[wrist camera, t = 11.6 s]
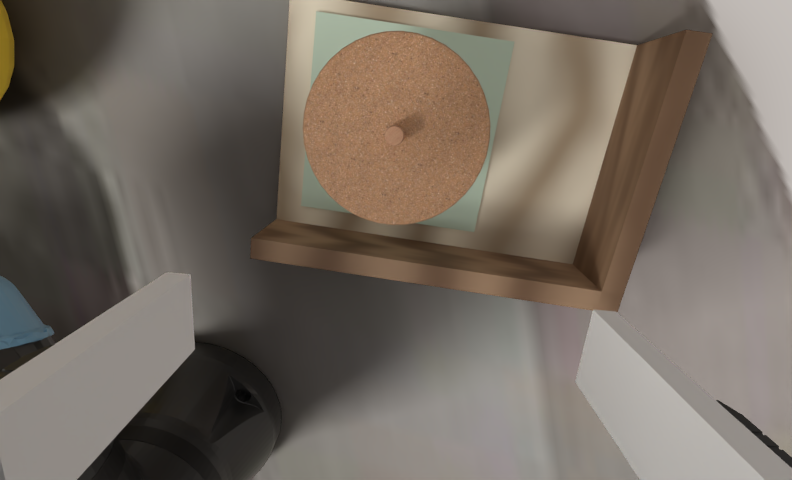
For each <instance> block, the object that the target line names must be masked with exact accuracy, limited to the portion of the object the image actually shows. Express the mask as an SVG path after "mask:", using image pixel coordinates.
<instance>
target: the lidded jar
mask: <svg viewBox="0 0 792 480" xmlns="http://www.w3.org/2000/svg"><path fill="white" fill-rule="evenodd" d="M303 138H304V146H305V150H306V154H307V158H308V161H309V163H310V166H311V168H312V171H313V173H314V175H315V176H316V178H317V180H318V181H319V183H320V185H321V186H322V187H323V188H324V190H325V191H326V192H327V193H328V195H329V196H330V197H331V198H332V199H334V200H335V201H336V202H337V203H338V204H339V205H340V206H342V207H343V208H345V209H346V210H348V211H349V212H351V213H352V214H355V215H357V216H359V217H361V218H363V219H366V220H369V221H372V222H376V223H381V224H388V225H406V224H412V223H418V222H421V221H424V220H427V219H431V218H433V217H435V216H437V215H439V214H441V213H443V212H444V211H446V210H447V209H449V208H450V207H452V206H453V205H454V204H456V203H457V202H458V201H459V200H460V199H461V198H462V197H463V196H464V195H465V194H466V193H467V191H468V190H469V189H470V187H471V186H472V185H473V184H474V182H475V180H476V179H477V177H478V175H479V173H480V171H481V169H482V167H483V164H484V161H485V159H486V156H487V151H488V146H489V141H490V116H489V108H488V105H487V101H486V97H485V94H484V92H483V89H482V87H481V85H480V83H479V81H478V79H477V77H476V76H475V74H474V73H473V71H472V70H471V68H470V67H469V66H468V65H467V63H466V62H465V61H464V60H463V59H462V58H461V57H460V56H459V55H458V54H457V53H455V52H454V51H453V50H452V49H450V48H449V47H448V46H446V45H445V44H443V43H441V42H439V41H437V40H435V39H433V38H431V37H428V36H425V35H422V34H419V33H414V32H406V31H385V32H380V33H375V34H370V35H368V36H365V37H363V38H360V39H358V40H355V41H354V42H352V43H350V44H349V45H347V46H346V47H344V48H342V49H341V50H340V51H339V52H338V53H337V54H335V55H334V56H333V57H332V58H331V59H330V60H329V61H328V62H327V64H326V65H325V66H324V67H323V68H322V70H321V71H320V73H319V74H318V76H317V78H316V79H315V81H314V83H313V85H312V87H311V90H310V92H309V95H308V97H307V101H306V106H305V110H304V117H303Z"/></svg>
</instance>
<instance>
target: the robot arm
mask: <svg viewBox="0 0 792 480" xmlns="http://www.w3.org/2000/svg"><path fill="white" fill-rule="evenodd" d="M53 334H54V331H53V330H52V328H51V327H50V326H47V325H44V324H43V323H42V322H41V320H40V319H39V318H38V316H37V315H36V313H35V312H34V311H33V309H32V308H31V307H30V305H29V304H28V303H27V301H26V300H25V299H24V297H23V296H22V295H21V293H20V292H19V291H18V289H17V288H16V287H15V286H14V285H13V284H12V283H11V282H10V281H9V280H7V279H6V278H4V277H2V276H0V480H251V479H252V478H253V477H254V476H255V475H256V474H257V473H258V472H259V471H260V469H261V468H262V467H263V466H264V464H265V463H266V461H267V460H268V458H269V456H270V454H271V452H272V450H273V447H274V445H275V443H276V440H277V438H278V435H279V432H280V428H281V409H280V404H279V401H278V398H277V396H276V393H275V391H274V389H273V388H272V386H271V384H270V383H269V381H268V380H267V379H266V377H265V376H264V375H263V374H262V373H261V372H260V371H259V370H258V369H257V368H256V367H255V366H254V365H252V364H251V363H250V362H249V361H247V360H246V359H244V358H243V357H241V356H239V355H237V354H236V353H234V352H231V351H229V350H227V349H224V348H221V347H218V346H214V345H210V344H205V343H195V340H194V323H193V306H192V289H191V274H183V273H171V272H166V273H165V274H163V275H162V276H160V277H159V278H157V279H155V280H154V281H152V282H151V283H149V284H148V285H146V286H145V287H143V288H141V289H140V290H138V291H137V292H135V293H134V294H132V295H131V296H129V297H127V298H126V299H124V300H123V301H121V302H120V303H118V304H117V305H115V306H114V307H112V308H110V309H109V310H107V311H106V312H104V313H103V314H101V315H100V316H98V317H96V318H95V319H93V320H92V321H90V322H89V323H87V324H86V325H84V326H83V327H81V328H79V329H78V330H76V331H75V332H73V333H72V334H70V335H69V336H67V337H65V338H64V339H62V340H61V341H59V342H58V343H55V342H54V340H53V339H52V337H51V335H53ZM575 382H576V384H577V385H578V387H579V388H580V390H581V391H582V393H583V394H584V396H585V397H586V399H587V400H588V402H589V404H590V405H591V407H592V408H593V410H594V411H595V413H596V414H597V416H598V417H599V419H600V420H601V422H602V423H603V425H604V426H605V428H606V429H607V431H608V432H609V434H610V435H611V437H612V438H613V440H614V441H615V443H616V444H617V446H618V447H619V449H620V450H621V452H622V453H623V455H624V456H625V458H626V459H627V461H628V463H629V464H630V466H631V467H632V469H633V470H634V472H635V473H636V475H637V476H638V478H639V479H640V480H792V457H790V456H789V455H788V454H787V453H786V452H785V451H784V450H780V449H779V446H778V445H777V444H775V443H774V442H773V441H772V440H771V439H770V438H769V437H767V436H766V435H763V434H762V431H760V430H759V429H758V428H757V427H756V426H755V425H754V424H752V423H751V422H750V421H749V420H748V419H747V418H745V417H744V416H743V415H742V414H740V413H738V412H737V411H735V410H733V409H732V408H730V407H728V406H727V405H725V404H723V403H722V402H720V401H719V400H715V399H714V398H713V397H711V396H710V395H709V394H708V393H707V392H706V391H705V390H704V389H702V388H701V387H700V386H699V385H698V384H697V383H696V382H695V381H694V380H692V379H691V378H690V377H689V376H688V375H687V374H686V373H685V372H683V371H682V370H681V369H680V368H679V367H678V366H677V365H676V364H675V363H673V362H672V361H671V360H670V359H669V358H668V357H667V356H666V355H664V354H663V353H662V352H661V351H660V350H659V349H658V348H657V347H655V346H654V345H653V344H652V343H651V342H650V341H649V340H648V339H647V338H645V337H644V336H643V335H642V334H641V333H640V332H639V331H638V330H636V329H635V328H634V327H633V326H632V325H631V324H630V323H629V322H627V321H626V320H625V319H624V318H623V317H622V316H621V315H620V314H619V313H617V312H615V311H604V310H593V312H592V316H591V320H590V324H589V328H588V332H587V336H586V340H585V344H584V348H583V352H582V356H581V361H580V365H579V369H578V373H577V377H576V381H575Z"/></svg>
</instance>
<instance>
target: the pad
mask: <svg viewBox="0 0 792 480" xmlns="http://www.w3.org/2000/svg"><path fill="white" fill-rule="evenodd" d="M385 31H406V32H414V33H419V34H422V35H425V36H428V37H431V38H433V39H435V40H437V41H439V42H441V43H443V44H445V45H446V46H448V47H449V48H450V49H452V50H453V51H454V52H455V53H457V54H458V55H459V56H460V57H461V58H462V59H463V60H464V61H465V62H466V63H467V65H468V66H469V67H470V68H471V70H472V71H473V73H474V74H475V76H476V77H477V79H478V81H479V83H480V85H481V87H482V89H483V92H484V94H485V97H486V101H487V105H488V108H489V116H490V141H489V146H488V151H487V156H486V159H485V161H484V164H483V167H482V169H481V171H480V173H479V175H478V177H477V179H476V180H475V182H474V184H473V185H472V186H471V187H470V189H469V190H468V191H467V193H466V194H465V195H464V196H463V197H462V198H461V199H460V200H459V201H458V202H457V203H456V204H454V205H453V206H452V207H450V208H449V209H447V210H446V211H444V212H443V213H441V214H439V215H437V216H435V217H433V218H431V219H427V220H424V221H421V222H418V223H417V224H424V225H430V226H437V227H443V228H450V229H456V230H463V231H470V232H474V231H475V226H476V222H477V217H478V212H479V207H480V203H481V198H482V193H483V189H484V184H485V179H486V174H487V170H488V165H489V160H490V156H491V151H492V146H493V141H494V137H495V132H496V127H497V122H498V118H499V113H500V108H501V104H502V99H503V94H504V89H505V85H506V80H507V75H508V71H509V66H510V61H511V56H512V52H513V47H514V42H513V41H507V40H500V39H494V38H487V37H481V36H474V35H468V34H461V33H455V32H448V31H442V30H435V29H429V28H422V27H416V26H409V25H403V24H396V23H390V22H383V21H377V20H370V19H364V18H357V17H351V16H344V15H338V14H331V13H325V12H318V11H316V22H315V35H314V47H313V60H312V73H311V86H310V90H311V87H312V85H313V83H314V81H315V79H316V78H317V76H318V74H319V73H320V71H321V70H322V68H323V67H324V66H325V65H326V64H327V62H328V61H329V60H330V59H331V58H332V57H333V56H334V55H335V54H337V53H338V52H339V51H340V50H341V49H342V48H344V47H346V46H347V45H349V44H350V43H352V42H354V41H355V40H358V39H360V38H363V37H365V36H368V35H370V34H375V33H380V32H385ZM301 206H305V207H312V208H319V209H325V210H332V211H338V212H345V213H351V212H349V211H348V210H346V209H345V208H343V207H342V206H340V205H339V204H338V203H337V202H336V201H335V200H334V199H332V198H331V197H330V196H329V195H328V193H327V192H326V191H325V190H324V188H323V187H322V186H321V185H320V183H319V181H318V180H317V178H316V176H315V175H314V173H313V171H312V168H311V166H310V163H309V161H308V158H307V154H306V150H305V162H304V175H303V188H302V200H301ZM351 214H352V213H351Z"/></svg>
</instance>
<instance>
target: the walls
mask: <svg viewBox="0 0 792 480" xmlns="http://www.w3.org/2000/svg"><path fill="white" fill-rule="evenodd" d="M711 37H712V33H705V32H699V31H692V30H684V31H681V32H678V33H674V34H671V35H668V36H665V37H662V38H659V39H655V40H652V41H649V42H646V43H643V44H640V45H637V47H636V51H635V54H634V57H633V61H632V64H631V68H630V71H629V74H628V78H627V81H626V85H625V88H624V91H623V95H622V98H621V102H620V105H619V108H618V112H617V115H616V119H615V122H614V125H613V129H612V132H611V136H610V139H609V142H608V146H607V149H606V153H605V156H604V159H603V163H602V166H601V170H600V173H599V176H598V180H597V183H596V187H595V190H594V193H593V197H592V200H591V204H590V207H589V210H588V214H587V217H586V221H585V224H584V227H583V231H582V234H581V238H580V241H579V244H578V248H577V251H576V255H575V258H574V261H573V264H568V263H561V262H554V261H548V260H541V259H535V258H528V257H522V256H515V255H508V254H502V253H495V252H489V251H482V250H476V249H469V248H462V247H456V246H449V245H443V244H436V243H430V242H423V241H416V240H410V239H403V238H397V237H390V236H384V235H377V234H370V233H364V232H357V231H351V230H344V229H338V228H331V227H324V226H318V225H311V224H305V223H298V222H292V221H285V220H279V219H276V220H275V221H273V222H272V223H271V224H269V225H268V226H267V227H265V228H264V229H263V230H261V231H260V232H259V233H257V234H256V235H255V236H253V237H252V238H251V253H250V258H251V259H258V260H264V261H271V262H277V263H284V264H290V265H297V266H304V267H310V268H317V269H323V270H330V271H336V272H343V273H350V274H356V275H363V276H369V277H376V278H383V279H389V280H396V281H402V282H409V283H415V284H422V285H429V286H435V287H442V288H448V289H455V290H462V291H468V292H475V293H481V294H488V295H494V296H501V297H508V298H514V299H521V300H527V301H534V302H541V303H547V304H554V305H560V306H567V307H573V308H580V309H587V310H604V311H615V312H618V309H619V306H620V303H621V300H622V297H623V294H624V291H625V288H626V285H627V283H628V280H629V277H630V274H631V271H632V268H633V265H634V262H635V259H636V256H637V253H638V250H639V247H640V244H641V242H642V239H643V236H644V233H645V230H646V227H647V224H648V221H649V218H650V215H651V212H652V209H653V206H654V203H655V201H656V198H657V195H658V192H659V189H660V186H661V183H662V180H663V177H664V174H665V171H666V168H667V165H668V162H669V160H670V157H671V154H672V151H673V148H674V145H675V142H676V139H677V136H678V133H679V130H680V127H681V124H682V121H683V119H684V116H685V113H686V110H687V107H688V104H689V101H690V98H691V95H692V92H693V89H694V86H695V83H696V80H697V78H698V75H699V72H700V69H701V66H702V63H703V60H704V57H705V54H706V51H707V48H708V45H709V42H710V39H711Z"/></svg>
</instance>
